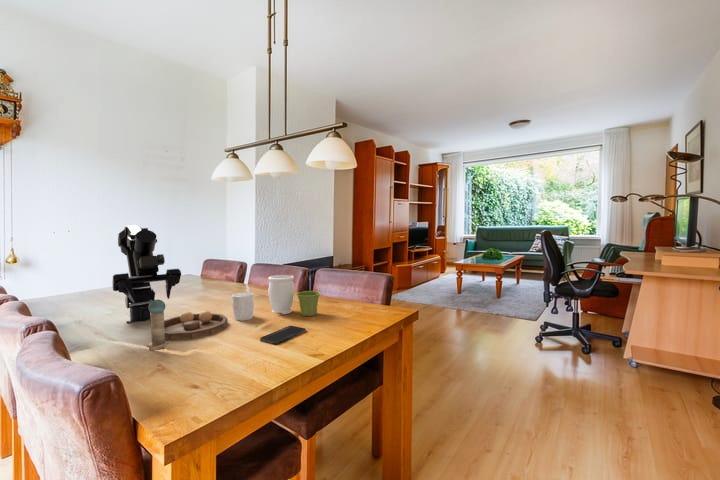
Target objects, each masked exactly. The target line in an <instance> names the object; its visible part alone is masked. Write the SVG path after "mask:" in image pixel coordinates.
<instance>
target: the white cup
mask: <svg viewBox="0 0 720 480" xmlns="http://www.w3.org/2000/svg"><path fill="white" fill-rule="evenodd" d="M231 301H232V311H233V319H234V320H235V321H246V320H251V319H253V317H254V307H255V303H254V301H255V294H254V292H250V291H249V292H248V291H247V292H245V291H244V292H236V293H232V295H231Z"/></svg>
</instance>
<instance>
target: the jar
mask: <svg viewBox="0 0 720 480" xmlns="http://www.w3.org/2000/svg"><path fill="white" fill-rule="evenodd" d="M294 278H295V276H294V275H292V274H291V275H290V274H276V275H270V276H268V278H267V279H268V281H269V283H268V287H267V288H268V289H267V290H268V292H267V293H268V299H269V303H270V306H271V308H272V310H271V313H277V314H279V316H282V315H288V314H291V313H292V312H293V310H292V306H293V303H294V298H295V297H294V296H295V284H294V281H293V280H294ZM280 313H281V314H280Z"/></svg>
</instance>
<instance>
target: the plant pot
mask: <svg viewBox="0 0 720 480" xmlns="http://www.w3.org/2000/svg"><path fill="white" fill-rule="evenodd" d="M320 295H321V292H320V291H316V290H308V291H307V290H304V291H299V292H297V293H296V296H297V298H298V302H299V306H300V315H301V316H302V317H303V316H304V317H307V316H308V317H312V316H316V315H317V313H318V305H319V304H318V303H319V298H320Z"/></svg>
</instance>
